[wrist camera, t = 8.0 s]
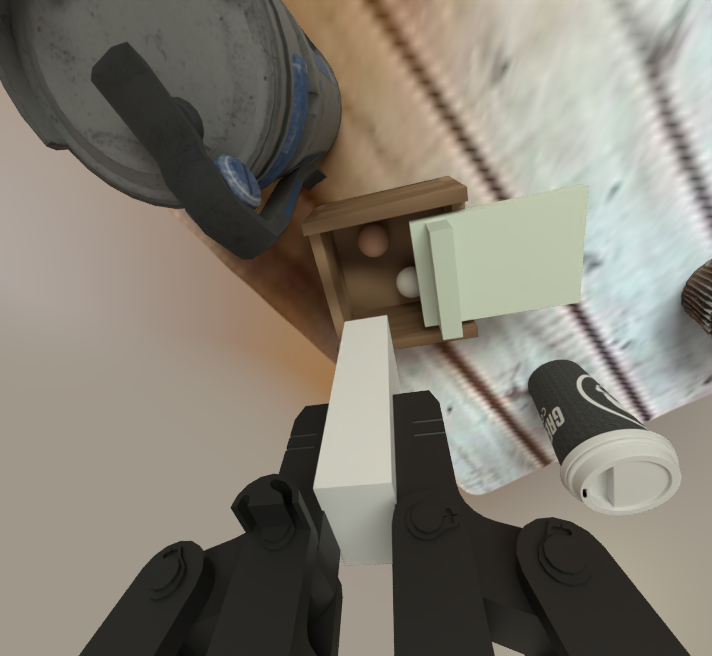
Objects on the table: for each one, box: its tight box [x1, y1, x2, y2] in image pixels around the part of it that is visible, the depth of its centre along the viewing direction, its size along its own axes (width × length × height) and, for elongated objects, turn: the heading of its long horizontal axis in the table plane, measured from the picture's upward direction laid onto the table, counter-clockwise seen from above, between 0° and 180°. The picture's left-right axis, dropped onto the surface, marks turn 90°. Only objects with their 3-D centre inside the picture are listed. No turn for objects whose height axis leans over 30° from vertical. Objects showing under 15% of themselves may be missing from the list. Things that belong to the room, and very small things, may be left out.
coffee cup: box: [528, 360, 681, 515], centre depth 37 cm, size 10×10×15 cm
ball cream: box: [396, 266, 420, 298], centre depth 36 cm, size 3×3×3 cm
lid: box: [409, 184, 589, 340], centre depth 28 cm, size 9×13×4 cm
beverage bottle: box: [0, 0, 342, 259], centre depth 21 cm, size 10×13×25 cm
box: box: [301, 176, 478, 353], centre depth 34 cm, size 13×13×8 cm
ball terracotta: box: [357, 224, 390, 257], centre depth 34 cm, size 3×3×3 cm
